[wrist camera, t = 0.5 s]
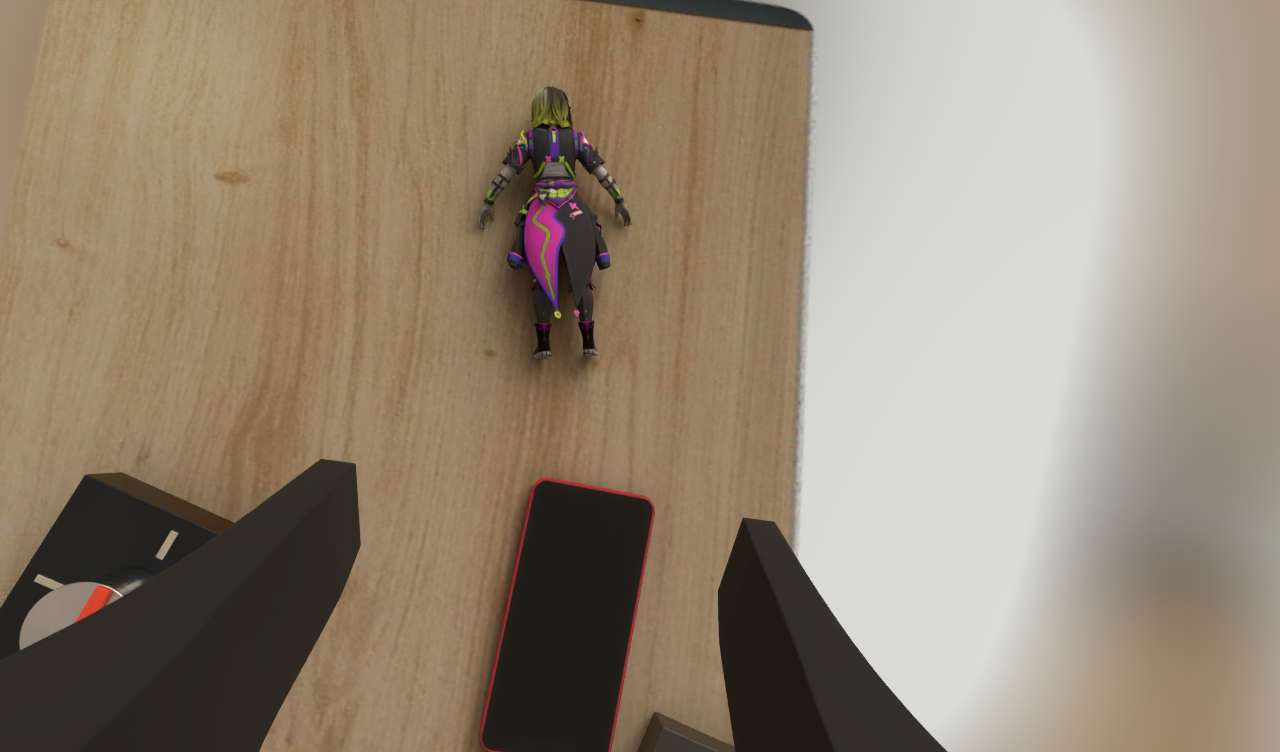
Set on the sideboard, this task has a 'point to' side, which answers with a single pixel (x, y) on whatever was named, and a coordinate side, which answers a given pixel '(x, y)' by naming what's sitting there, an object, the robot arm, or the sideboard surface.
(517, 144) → the character figure
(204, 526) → the dimmer panel
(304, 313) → the sideboard surface
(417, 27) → the sideboard surface
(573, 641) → the smartphone
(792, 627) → the robot arm
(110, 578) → the dimmer knob
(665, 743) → the light switch
